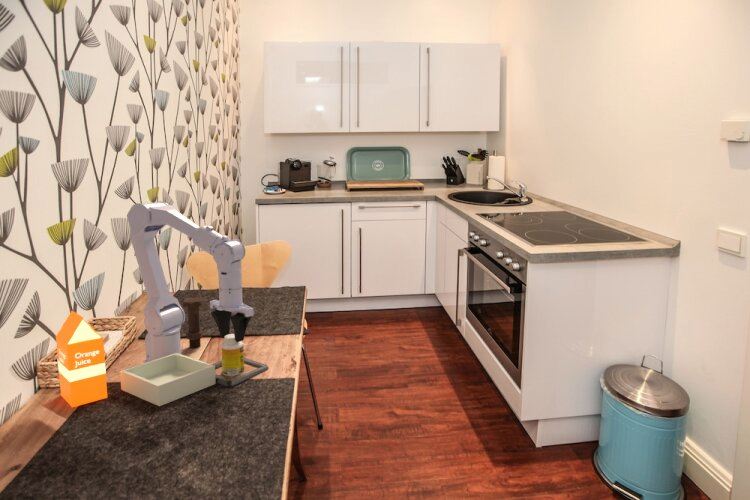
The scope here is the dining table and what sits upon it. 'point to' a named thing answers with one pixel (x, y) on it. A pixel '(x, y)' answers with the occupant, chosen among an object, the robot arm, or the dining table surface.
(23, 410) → the dining table surface
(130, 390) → the bin
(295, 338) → the dining table surface
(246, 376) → the socket collar
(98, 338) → the orange juice
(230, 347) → the supplement bottle
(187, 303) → the bolt
